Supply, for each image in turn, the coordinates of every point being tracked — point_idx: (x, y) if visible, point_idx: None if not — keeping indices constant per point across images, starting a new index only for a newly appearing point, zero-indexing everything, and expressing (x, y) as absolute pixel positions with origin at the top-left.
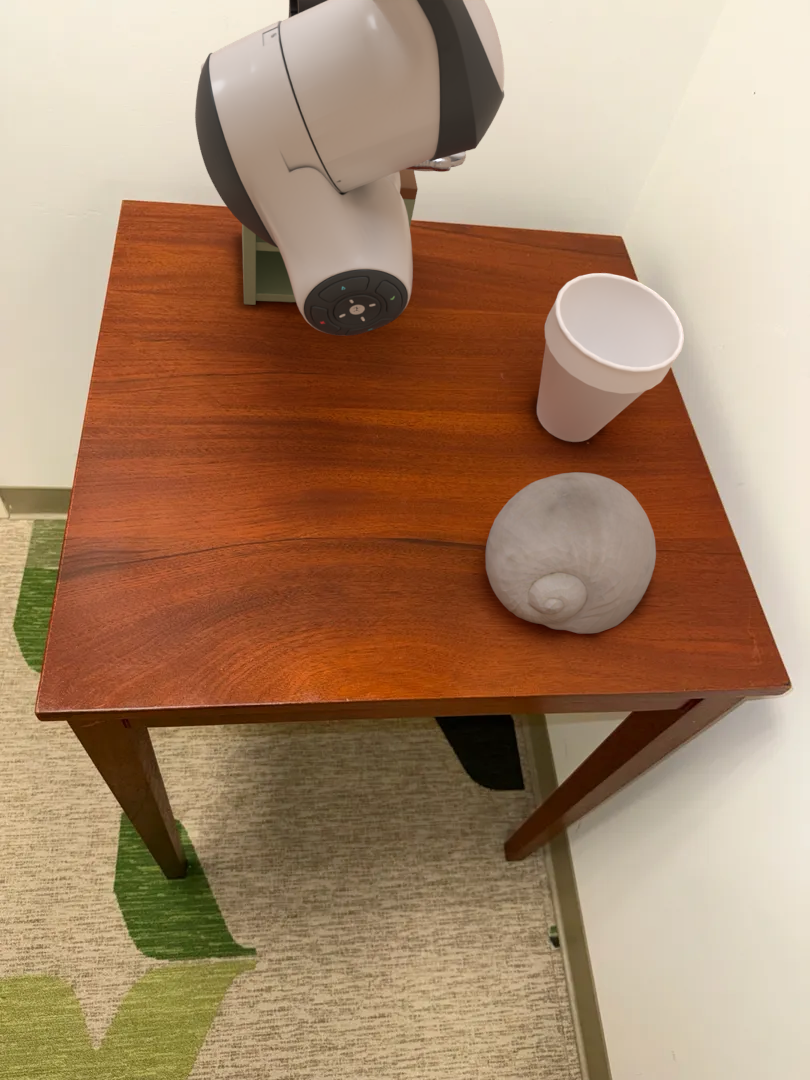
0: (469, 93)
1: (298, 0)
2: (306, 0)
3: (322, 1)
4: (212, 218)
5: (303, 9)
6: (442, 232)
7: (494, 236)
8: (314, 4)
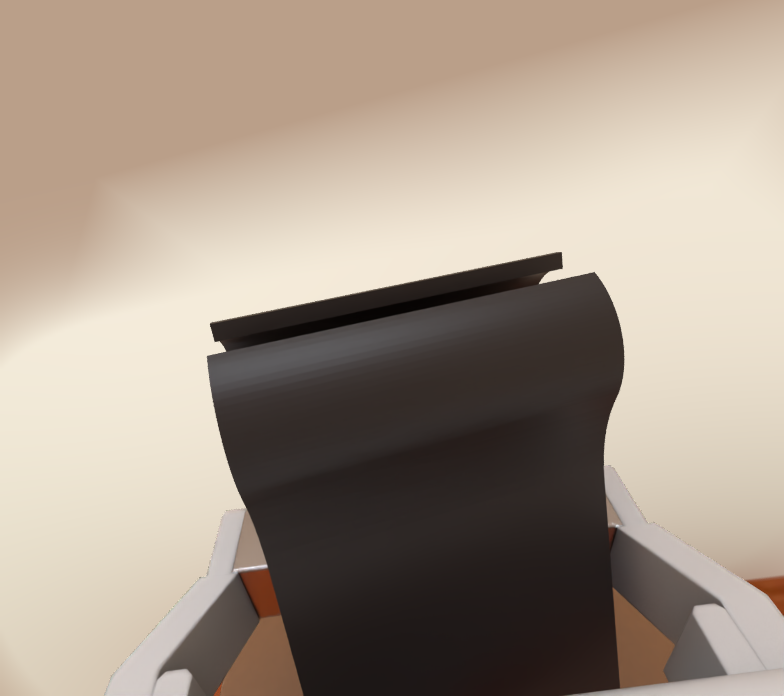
0: None
1: (218, 422)
2: (268, 409)
3: (361, 390)
4: None
5: (255, 457)
6: None
7: (763, 583)
8: (317, 416)
